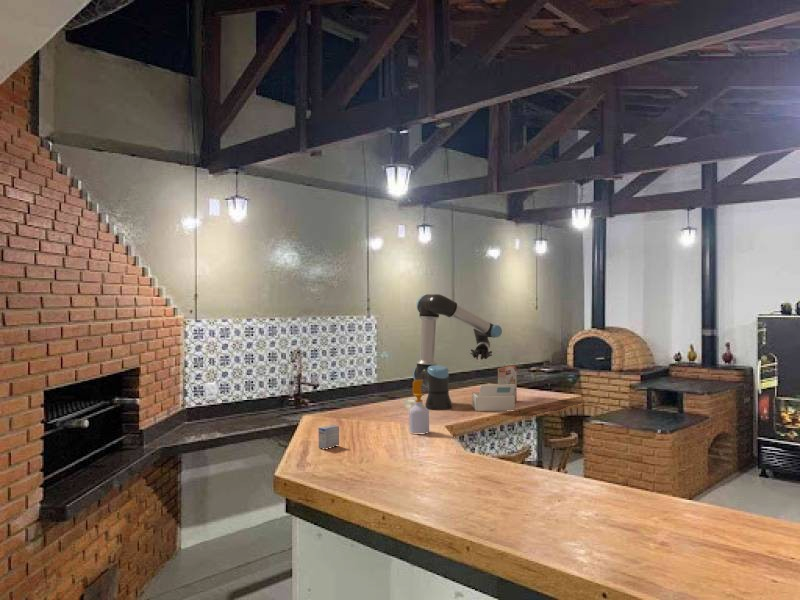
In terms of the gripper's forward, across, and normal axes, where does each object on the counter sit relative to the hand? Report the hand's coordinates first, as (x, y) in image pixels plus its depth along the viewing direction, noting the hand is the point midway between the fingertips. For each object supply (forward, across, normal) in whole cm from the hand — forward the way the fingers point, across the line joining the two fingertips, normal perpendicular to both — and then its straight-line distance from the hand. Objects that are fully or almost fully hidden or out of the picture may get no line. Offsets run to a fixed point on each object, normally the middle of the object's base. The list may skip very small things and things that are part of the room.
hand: (479, 359), depth 328 cm
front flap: (+17, -12, -11) cm, 23 cm away
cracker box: (-14, -17, -28) cm, 36 cm away
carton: (+7, -10, -26) cm, 28 cm away
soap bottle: (+71, +20, -18) cm, 76 cm away
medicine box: (+103, +53, -16) cm, 117 cm away
